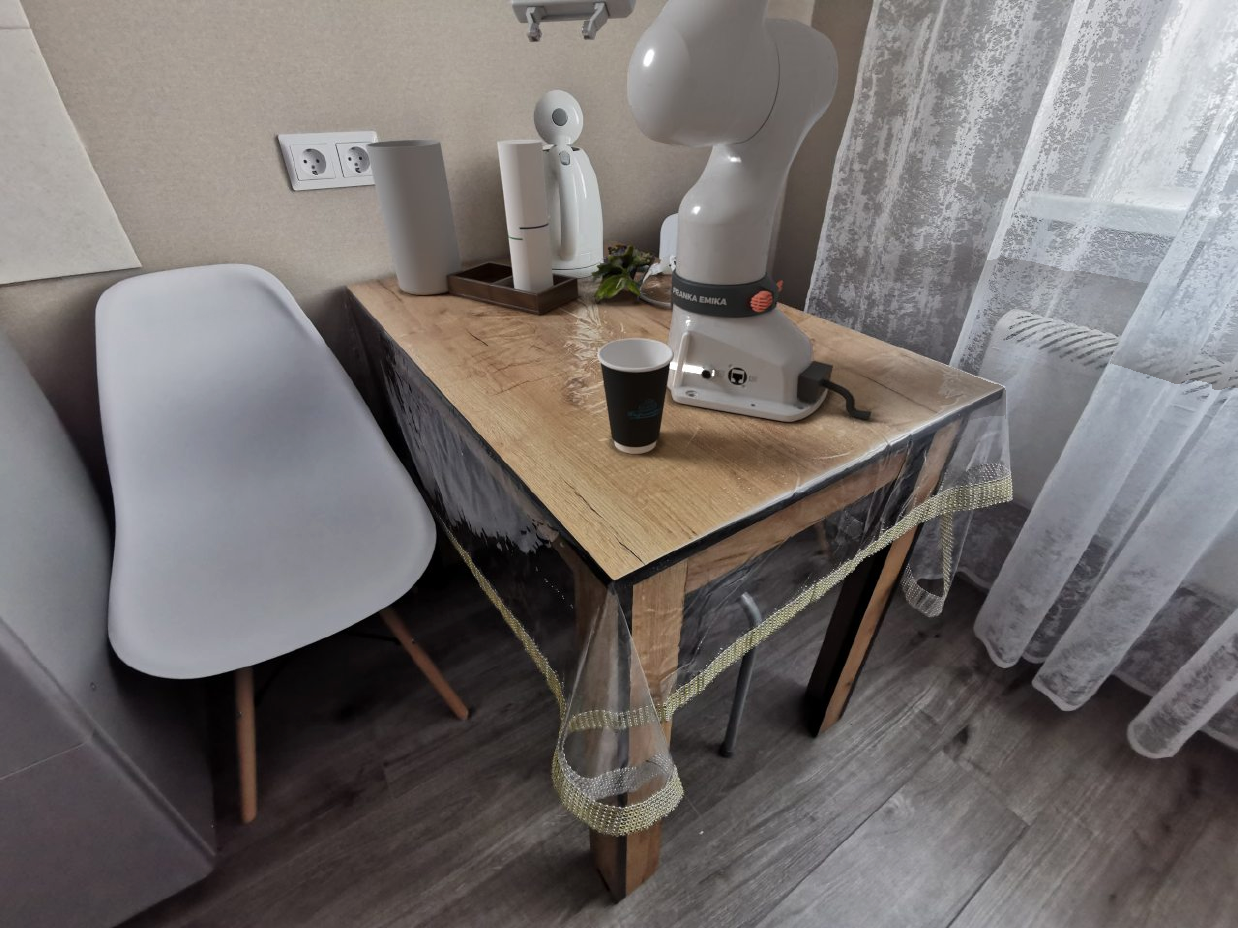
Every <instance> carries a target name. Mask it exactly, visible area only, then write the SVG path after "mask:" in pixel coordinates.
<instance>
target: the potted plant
mask: <svg viewBox="0 0 1238 928" xmlns="http://www.w3.org/2000/svg"><path fill="white" fill-rule="evenodd" d="M607 252H608V254H607V255H606V256H605V258H602V262H599V264H597V265H596V268H597V270H596V271H592V272H591V275H592V276H593V277H592V283H595V281H596V280H598V279H600V278H601V280H600V281H599V282H600V283H599V286H598V289H597V290H595V293H594V300H595V301H596V303H599V301H601V300H602V299H604V298H606V299H611V298H613V297H615V296H616V295H617V294H619V293H620V292H621V291H622V290H624V288H625V287H627V288H628V289H629V290H630V292H632V293H633V294H634V295H636V303H637V304H638V303H639V302H638V301H639V298H640V296H641V295H642V293H641V289H642V287H643V284H644V280H645V278H646V276H647V274H648V272H649V271H650V269H651V267H652V266H653V264H654V262H655V260H656V258H655V255H654V254H655V253H653V254H652V253H651V252H647V253H646V254H644V253H643V251H642V250H641V249H640V248H637V247H635V245H633V244H632V243H631V244H630V245H628V244H621V243H617V244H615V247H614V246H607ZM643 258H644V259H643ZM647 266H648V267H647ZM646 267H647V268H646ZM637 273H638V274H639V273H640V274H642V273H643V276H642V277H641V279H639V280H638V281H636V280H635V277H636V274H637Z"/></svg>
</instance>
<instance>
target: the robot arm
mask: <svg viewBox="0 0 1238 928" xmlns="http://www.w3.org/2000/svg"><path fill="white" fill-rule="evenodd" d="M770 2H771V0H667V1H666V3H665V4H664V6H663V8H662V10H661V11H660V13H659V14H658V16H657V17H656V18H655V20H654V21H653V22H652V23H651V24H650V26H649V27H648V28H647V29H646V30H644V31H643V33H642V34H641V35H640V37H639V39H638V40H637V42H636V45H635V46H634V48H633V51H632V53H631V57H630V60H629V64H628V67H627V75H626V95H627V102H628V107H629V109H630V113H631V116H632V118H633V120H634V122H635V124H636V126H637V127H638V129H639V131H640V132H641V133H642V134H643V135H644V136H645V137H646V138H648V140H650V141H653V142H657V143H661V144H665V145H669V146H674V147H678V148H679V147H680V148H685V149H697V148H705V147H706V148H707V147H712V149H711V152H710V155H709V158H708V161H707V163H706V165H705V168H704V169H703V171H702V174H701V176H700V177H699V179H698V180H697V181H696V182H695V184H693V186H692V187H691V188H690V189H689V190H688V191H687V192H686V193H685V194H684V196H683V198H682V199H681V201H680V204H679V206H678V211H677V231H676V249H675V252H676V253H675V268H674V269H672V273H671V285H670V310H671V311H670V312H672V314H671V320H670V328H669V334H668V340H667V344H666V345H668V346H669V347H670V348H671V349H672V350H673V352H674V358H673V360H672V361H671V364H670V370H669V376H668V383H667V389H669V390H670V393H671V397H672V399H673V401H674V402H675V403H677V404H683V405H687V406H694V407H698V408H699V407H700V408H704V409H705V408H706V409H711V410H717V411H722V412H728V413H734V414H738V415H745V416H750V417H755V418H761V419H762V418H763V419H767V420H774V421H779V422H785V423H786V422H787V423H792V422H797V421H800V420H802V419H804V418H806V417H808V416H811V414H813V413H814V412H816V411H817V410H818V409H819V408H820V406H821V405H822V404H823V403H824V402H825V399H826V397H827V395H828V390H829V391H832V392H834V393H836V394H837V395H838V394H839V395H840V396H841V397H842V398H843V399H844V400H845V409H846V412H847V413H848V414H849V415H850V416H851V417H853V418H857V419H864V420H869V419H870V418H871V415H872V411H869V410H860V409H857V408H856V407H855V404H856V399H855V397H854V395H853V394H852V393H851V391H850V390H848V389H847V388H846V387H844V386H842V385H840V384H838V383H836V382H833V381H831V377H832V373H833V368H834V365H833V364H829V363H825V362H820V361H817V360H815V357H814V356H815V355H814V354H815V353H814V346H813V343H812V340H811V339H810V338H809V336H807V335H806V334H805V333H804V332H803V331H802V330H801V329H800V328H799V327H798V326H797V325H796V324H795V323H794V322H793V321H792V320H791V319H789V317H788V316H787V315H786V314H785V313H784V312H782V310H781V309H780V308H779V307H778V299H779V293H780V292H781V291H782V290H783V287H782V286H783V284H784V281H783V279H781V280H780V281H778V282H777V283H776V282H775V281H774V280H773V279H772V277H771V276H770V275H769V273H768V272H767V264H768V258H769V251H770V245H771V240H772V239H771V238H772V237H771V236H772V231H773V227H774V221H775V215H776V211H777V207H778V202H779V199H780V196H781V193H782V190H783V187H784V184H785V182H786V179H787V177H788V174H789V171H790V169H791V167H792V165H793V163H794V160H795V158H796V156H797V154H798V151H799V149H800V147H801V145H802V144H803V142H804V139H806V137H807V135H808V133H809V132H810V130H811V129H812V128H813V126H814V125H815V124H816V123H817V122H818V121H819V120H820V119H821V118H822V116H823V115H824V114H825V113H826V111H827V110H828V108H829V106H830V105H831V103H832V100H833V98H834V96H835V93H836V89H837V86H838V80H839V59H838V55H837V51H836V48H835V46H834V44H833V43H832V41H831V39H830V38H829V37H828V36H827V35H826V34H824V33H823V32H821V31H819V30H817V29H815V28H814V27H812V26H810V25H808V24H806V23H803V22H802V21H799V20H796V19H793V18H781V17H780V18H779V17H767V13H768V8H769V4H770ZM636 3H637V0H509V5H510V8H511V10H512V12H513V13H514V16H515V18H516V19H517V21H518V22H519V23H520V24H528V25H527V29H526V37H527V38H528V41H529V42H530V43H539V42H540V41H541V38H542V36H543V32H542V30H541V29H540V24H541V23H555V22H557V23H558V22H573V21H574V22H576V21H583V24H582V25H583V26H582V27H581V34H582V36H583V40H585V41H594V40H595V38H596V35H597V33H598V31H599V30H601V28H602V27H604V26H605V25H606V24H607V23H608V20H615V19H626V18H628V17H630V16H631V15H632V14H633V13H634V10H635V7H636Z"/></svg>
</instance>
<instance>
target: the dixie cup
mask: <svg viewBox="0 0 1238 928" xmlns="http://www.w3.org/2000/svg"><path fill="white" fill-rule="evenodd" d="M596 354H597V355H596V357H597V360H598V361H599V362H600V368H601V374H602V381H603V388H604V394H605V401H606V407H607V408H606V409H607V414H608V421H609V427H610V435H611V438H612V440H613V441H614V446H615V447H616V448H617V450H619V451H620V452H623V453H626V454H631V455H639V454H640V455H641V454H644V453H648V452H651V451H652V450H653V449H654V448H656V445H657V441H658V439H659V438H660V432H661V426H662V422H663V421H662V420H663V414H664V408H665V401H666V396H667V395H666V394H667V389H668V387H667V383H668V376H669V370H670V364H671V361H672V360H673V358H674V352H673V350H672V349H671V348H670V347H669V346H668V345H667V344H666V343H664V342H662V341H659V340H657V339H651V338H643V337H627V338H620V339H616V340H613V341H610V342H607V343H606V344H604V345H602V346H601V347H600V348H599V349H598V351H597V353H596Z"/></svg>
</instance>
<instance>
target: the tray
mask: <svg viewBox="0 0 1238 928" xmlns="http://www.w3.org/2000/svg"><path fill="white" fill-rule="evenodd" d="M552 274H553V286H552V287H550V288H548V289H545V290H543V291H541V292H539V293H533V292H529V291H524V290H519V289H515V288H514V279H513V271H512V264H507V263H501V262H496V261H490V260H488V261H485V262H482V263H479V264H476V265H474V266H471V267H467V268H464V269H462V270H461V271H458V272H455V273H453V274H450V275H447V276H446V277H447V282H448V287H449V292H448V293H449V295H452V296H455V297H459V298H460V297H461V298H463V299H469V300H471V301H472V300H473V301H478V302H482V303H485V304H490V305H494V306H498V307H502V308H506V309H511V310H515V311H520V312H523V313H528V314H533V315H537V316H541V315H543V314H545V313H548V312H550V311H551V310H553V309H556V308H558V307H560V306H562V305H565V304H566V303H568V302H570V301H572V300H575V299H577V298H579V284H578V281H579V280H578V277H575V276H570V275H565V274H560V273H554V272H552Z"/></svg>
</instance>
